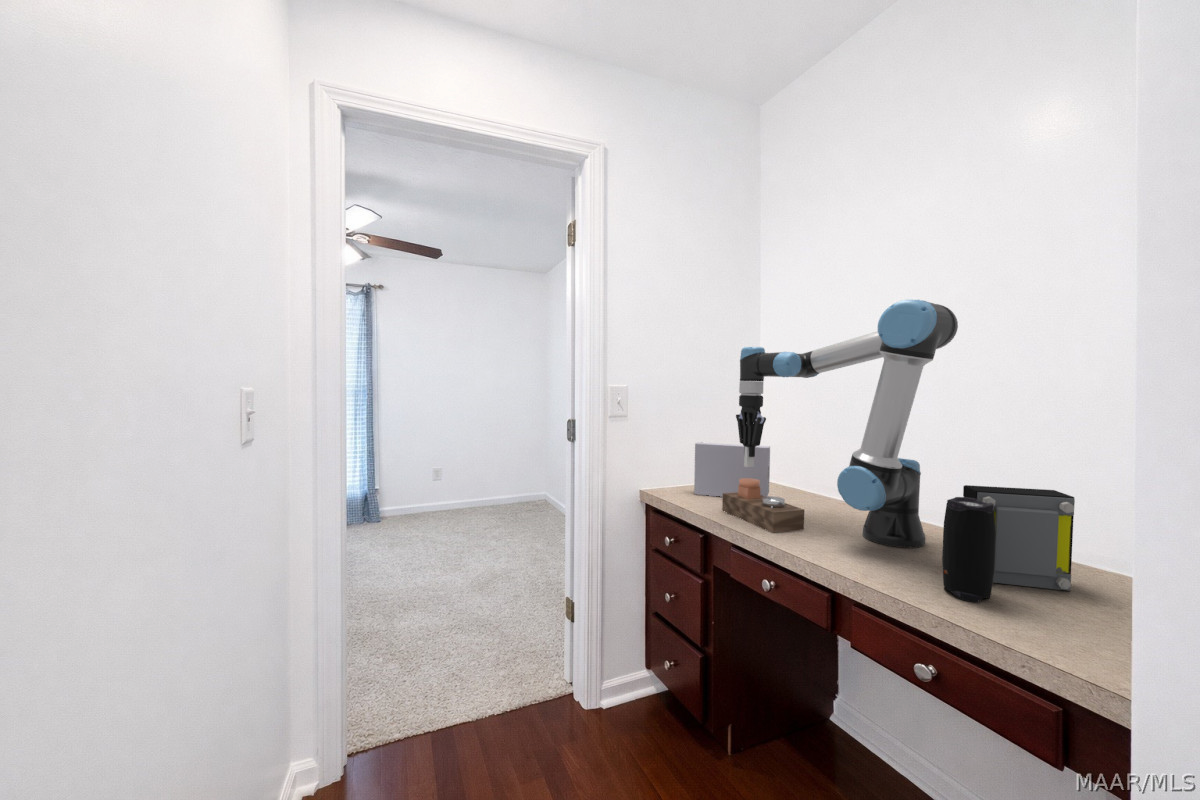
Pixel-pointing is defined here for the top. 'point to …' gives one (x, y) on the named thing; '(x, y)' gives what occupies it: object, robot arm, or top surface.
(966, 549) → the portable speaker
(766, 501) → the metal button
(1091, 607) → the top surface
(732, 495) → the wooden base block
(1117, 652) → the top surface
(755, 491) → the terracotta button
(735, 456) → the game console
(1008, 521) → the electrical component
